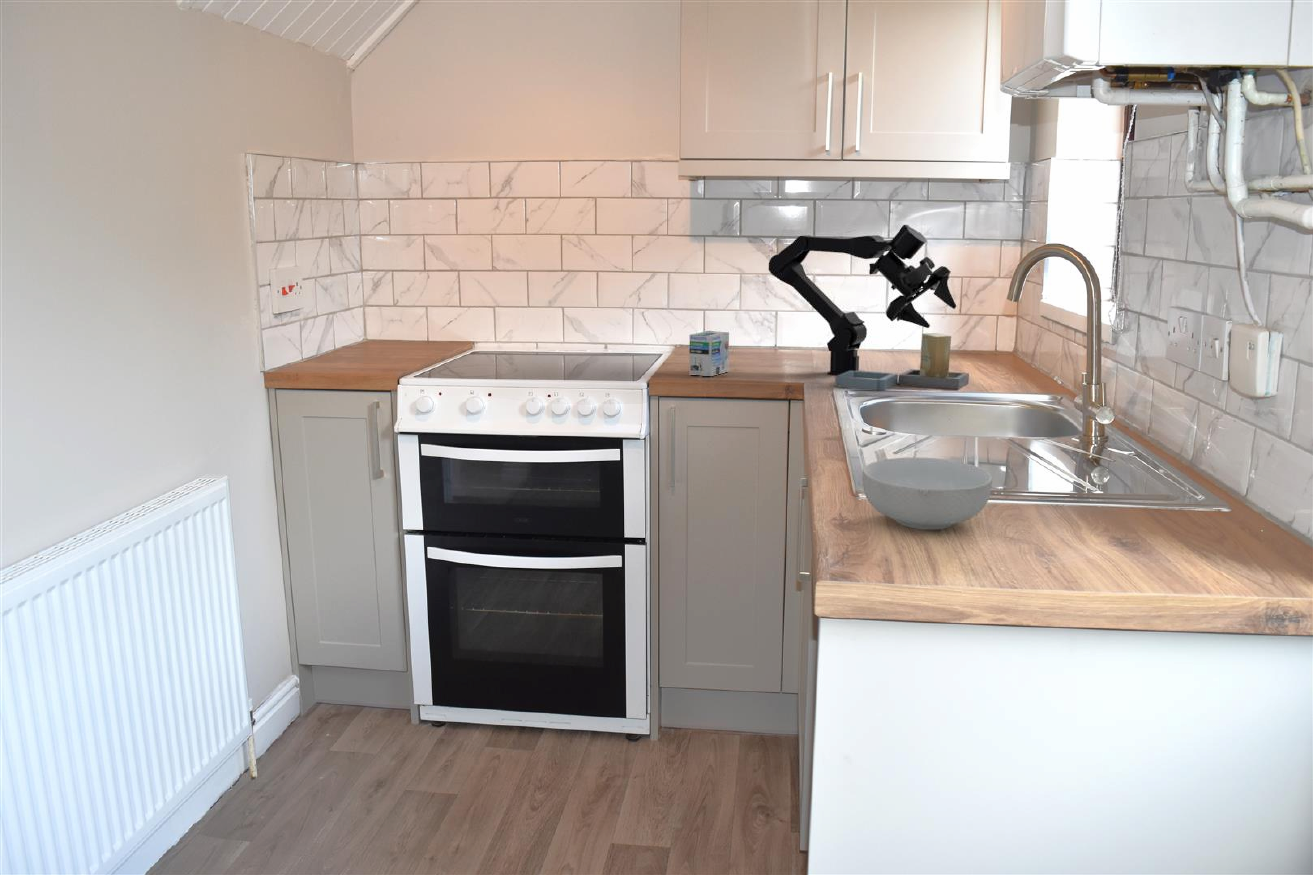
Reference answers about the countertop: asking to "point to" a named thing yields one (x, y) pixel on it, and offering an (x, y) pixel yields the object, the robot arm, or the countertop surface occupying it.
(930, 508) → the cereal bowl
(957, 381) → the metal collar
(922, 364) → the skincare box
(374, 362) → the countertop surface
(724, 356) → the light bulb box
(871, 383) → the slate tray
